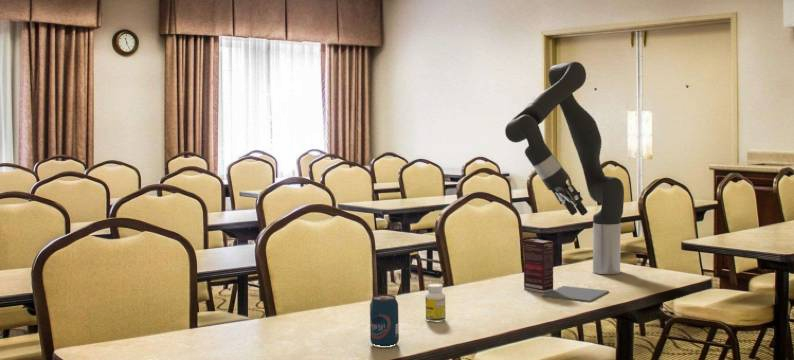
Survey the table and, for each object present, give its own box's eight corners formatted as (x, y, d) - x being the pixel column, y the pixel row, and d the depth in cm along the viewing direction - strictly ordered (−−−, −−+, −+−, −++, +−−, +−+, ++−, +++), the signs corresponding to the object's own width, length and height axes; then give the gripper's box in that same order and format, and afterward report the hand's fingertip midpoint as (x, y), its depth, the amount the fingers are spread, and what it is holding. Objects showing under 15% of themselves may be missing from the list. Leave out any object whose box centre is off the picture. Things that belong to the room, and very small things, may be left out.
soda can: (366, 347, 219) (365, 299, 218) (376, 340, 226) (376, 293, 225) (392, 349, 217) (392, 300, 216) (402, 342, 223) (402, 295, 222)
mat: (563, 287, 287) (563, 285, 287) (608, 292, 279) (608, 290, 279) (542, 296, 274) (542, 295, 274) (589, 302, 266) (589, 300, 265)
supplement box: (554, 291, 281) (554, 241, 280) (543, 293, 278) (543, 242, 277) (533, 287, 288) (533, 238, 287) (523, 289, 285) (522, 239, 284)
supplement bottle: (422, 319, 247) (422, 284, 246) (440, 317, 249) (439, 282, 248) (430, 323, 242) (430, 287, 241) (449, 321, 244) (448, 285, 243)
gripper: (568, 163, 275) (597, 207, 276) (552, 165, 289) (580, 206, 290) (549, 178, 274) (579, 221, 275) (534, 179, 288) (562, 220, 289)
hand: (579, 213), depth 283 cm, fingers open, 8 cm apart
